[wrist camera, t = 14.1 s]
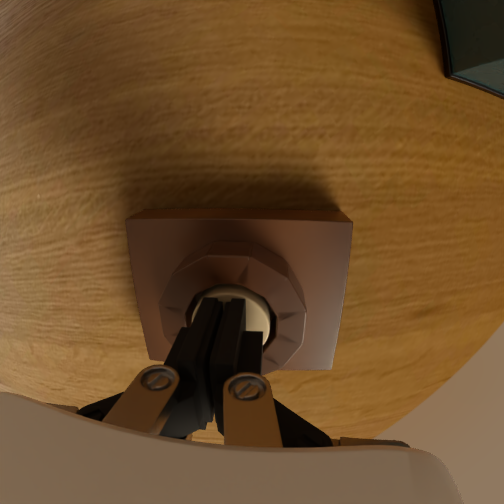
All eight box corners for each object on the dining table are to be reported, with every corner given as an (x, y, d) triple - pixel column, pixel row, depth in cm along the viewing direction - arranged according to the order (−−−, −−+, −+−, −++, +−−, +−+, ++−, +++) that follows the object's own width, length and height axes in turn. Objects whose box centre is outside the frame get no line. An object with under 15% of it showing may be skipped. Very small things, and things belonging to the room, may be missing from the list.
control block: (342, 211, 14) (365, 234, 10) (326, 345, 17) (336, 393, 13) (143, 209, 15) (105, 229, 11) (161, 338, 17) (138, 380, 14)
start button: (271, 275, 13) (271, 294, 11) (269, 336, 14) (268, 360, 12) (197, 273, 13) (187, 291, 11) (203, 333, 14) (195, 355, 12)
